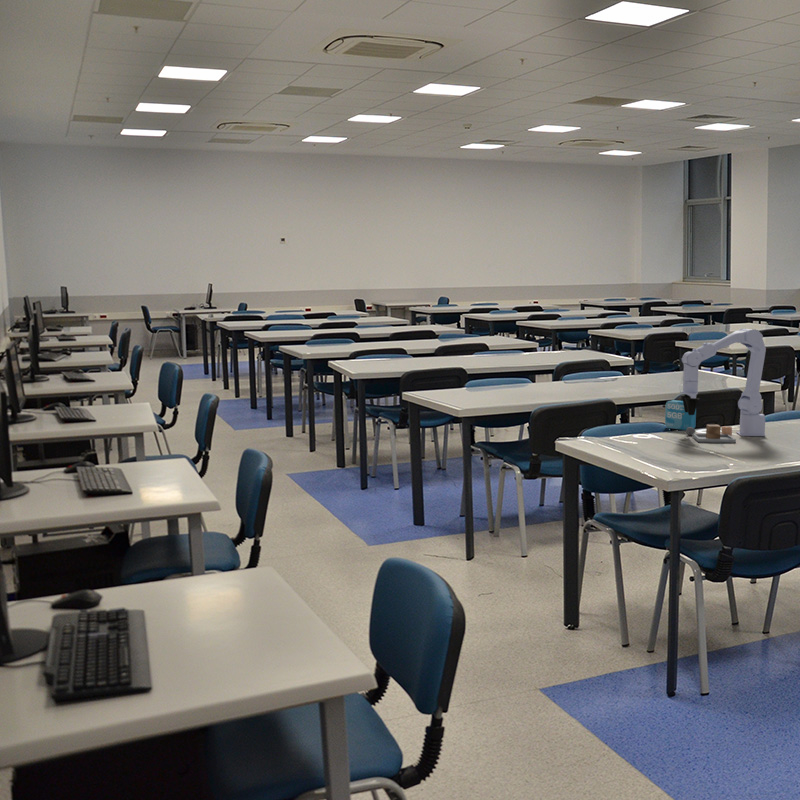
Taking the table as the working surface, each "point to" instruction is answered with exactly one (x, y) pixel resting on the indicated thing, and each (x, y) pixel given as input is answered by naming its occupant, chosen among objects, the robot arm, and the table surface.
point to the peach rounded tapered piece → (726, 430)
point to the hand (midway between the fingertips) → (689, 413)
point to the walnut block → (713, 431)
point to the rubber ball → (690, 431)
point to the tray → (723, 439)
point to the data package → (678, 416)
